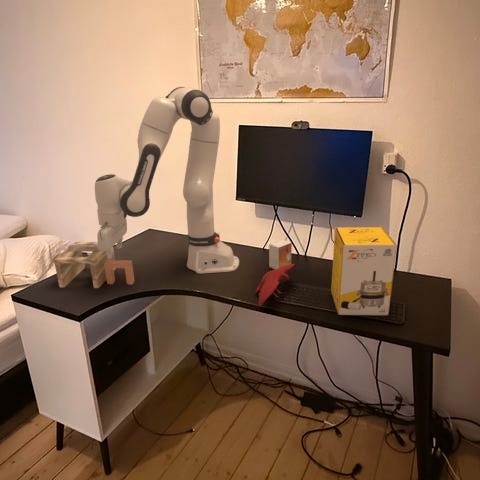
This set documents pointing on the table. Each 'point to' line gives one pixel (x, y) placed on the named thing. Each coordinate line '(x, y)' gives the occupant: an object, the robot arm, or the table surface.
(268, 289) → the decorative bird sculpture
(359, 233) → the packaging box
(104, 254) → the wooden stand
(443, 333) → the table surface
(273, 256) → the small box
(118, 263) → the arch block
